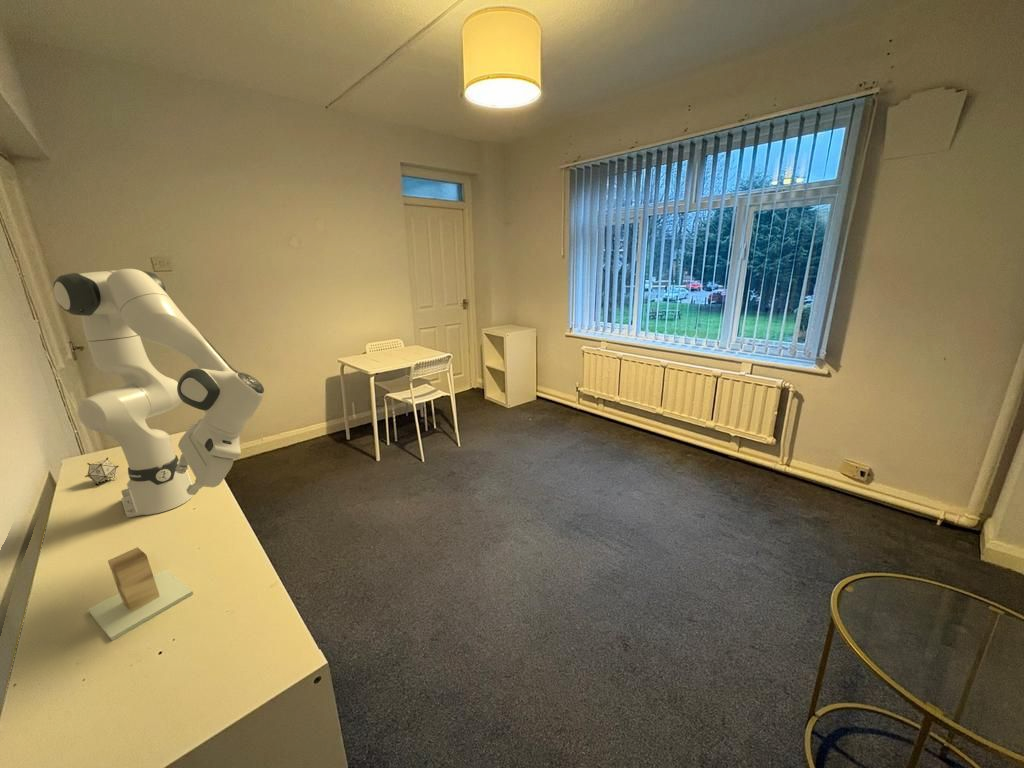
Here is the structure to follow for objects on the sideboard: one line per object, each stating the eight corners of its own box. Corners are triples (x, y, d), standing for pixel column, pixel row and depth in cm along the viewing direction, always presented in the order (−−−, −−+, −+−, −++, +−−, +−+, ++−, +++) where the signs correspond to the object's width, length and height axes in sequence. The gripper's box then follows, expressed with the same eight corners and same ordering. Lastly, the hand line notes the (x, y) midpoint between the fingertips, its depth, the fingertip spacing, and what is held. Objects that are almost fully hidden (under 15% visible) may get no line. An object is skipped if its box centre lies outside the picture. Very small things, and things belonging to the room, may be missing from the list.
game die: (111, 488, 148) (122, 460, 151) (115, 486, 142) (126, 458, 146) (77, 485, 142) (89, 456, 145) (79, 483, 136) (91, 453, 140)
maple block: (122, 602, 90) (107, 560, 87) (151, 587, 94) (137, 547, 91) (131, 612, 87) (115, 569, 84) (160, 596, 91) (146, 554, 88)
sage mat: (89, 612, 89) (87, 609, 88) (167, 571, 100) (166, 569, 100) (111, 640, 82) (110, 637, 81) (193, 593, 93) (192, 591, 93)
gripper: (190, 412, 105) (159, 458, 104) (216, 452, 94) (182, 504, 93) (215, 418, 110) (186, 462, 110) (243, 457, 99) (211, 507, 98)
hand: (184, 482), depth 101 cm, fingers open, 8 cm apart
